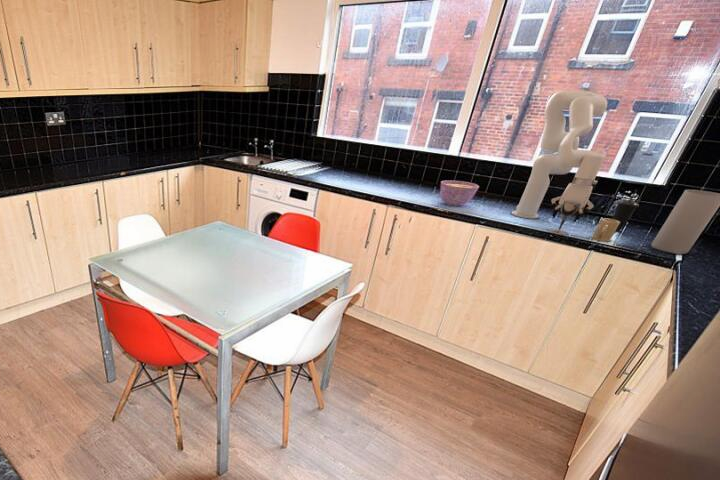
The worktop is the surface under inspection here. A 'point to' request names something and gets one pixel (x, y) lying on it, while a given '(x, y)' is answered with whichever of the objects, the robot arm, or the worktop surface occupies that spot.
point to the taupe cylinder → (686, 221)
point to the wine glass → (566, 214)
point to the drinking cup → (624, 211)
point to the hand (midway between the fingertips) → (564, 219)
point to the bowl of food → (457, 192)
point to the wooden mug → (605, 229)
